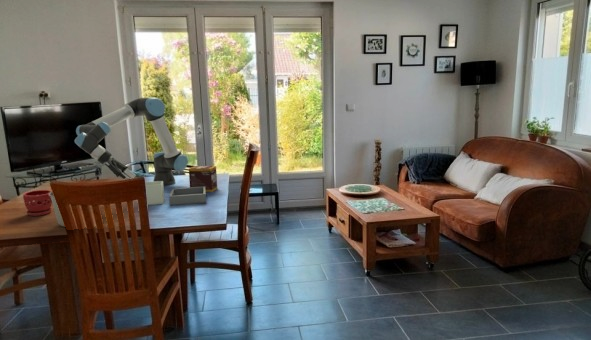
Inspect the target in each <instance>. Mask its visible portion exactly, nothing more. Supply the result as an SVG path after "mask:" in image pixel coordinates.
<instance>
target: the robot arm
mask: <svg viewBox="0 0 591 340" xmlns="http://www.w3.org/2000/svg"><path fill="white" fill-rule="evenodd" d="M165 110H166V106H165V103H164V101H163V100H161V98H159V97H154V96H153V97H138V98H136V99H134V100H131V101H129V102H128V103H125V104H123V106H122V107H120V108H118V109H116V110H114V111H111V112H109V113H108V114H105V115H103V116H101V117H99V118H97V119H95V120H92V121H91V122H88V123H86V124H81V125H78V126H77V127H76V129H75V133H76V135H77V136H76V137H75V139H74V144H76V145H77V146H78V147H79V148H80V149H82V150H83V151H84V152H85V153H87V154H88V155H90V156H91V158H93V159H94V160H97V162H98V163H99V164H101V165H104V166H106V168H108V169H109V170H110V171H111V172H112V173H113V174H114V175H115V176H116V178H119V177H120V178H121V179H122V180H123V179H125V178H130V179H132V178H133V179H134V178H135V177H136V176H137V175H136V174H135V173H134V172H133V171H131V170H130V169H128V166H127V165H126V164H123V163H122V162H120V161H119V160H117V159H116V158H114V157H112V153H111V152H109V151H108V150H107V148H104V147H103V146H102V145H101V144H99V143H100V142H101V141H102V140H103V139H104V138H105V137H106V136H107V135H108V134H110V133H111V128H112V127H114V126H115V125H117V124H120V123H122V122H124V121H125V120H128V119H134V118H136V117H141V116H142V117H145V119H146V121H147V122H149V123H150V124H151V126H152V128H153V131H154V132H155V134H156V137H157V139H158V140H159V143H160V146H161V148H162V150H163V151H160V152H155V153H154V154H153V166H154V177H153V180H152V182H155V181H163V186H170V185H174V184H175V183H176V178H175V176H174V173H173V171H176V172H182V171H184V170H185V169H186V168H187V166H188V161H189V158H188V157H187V155H185V154H183V153H182V151H181V150H180V148H177V145H176V143H175V141H174V138H173V136H172V134H171V132H170V130H169V128H168V125H167V123H166V121H165V112H166V111H165ZM111 157H112V158H111ZM122 171H123V172H122Z"/></svg>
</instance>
